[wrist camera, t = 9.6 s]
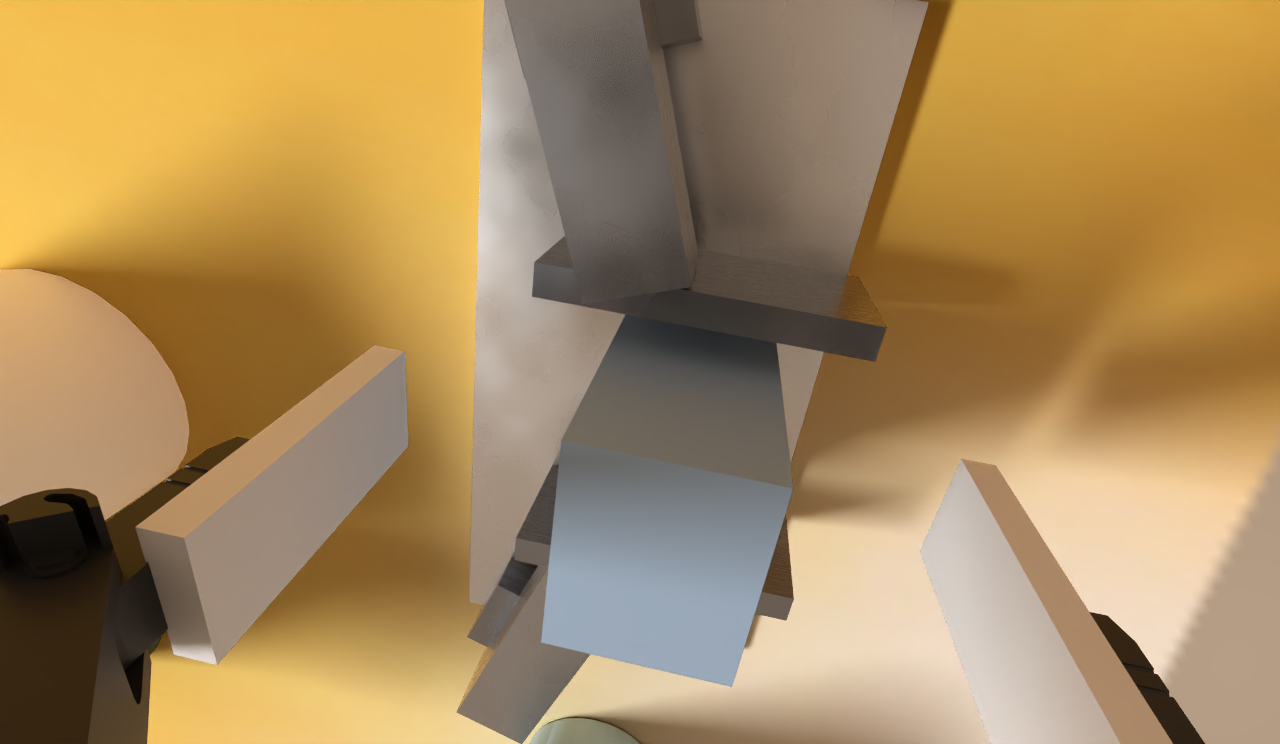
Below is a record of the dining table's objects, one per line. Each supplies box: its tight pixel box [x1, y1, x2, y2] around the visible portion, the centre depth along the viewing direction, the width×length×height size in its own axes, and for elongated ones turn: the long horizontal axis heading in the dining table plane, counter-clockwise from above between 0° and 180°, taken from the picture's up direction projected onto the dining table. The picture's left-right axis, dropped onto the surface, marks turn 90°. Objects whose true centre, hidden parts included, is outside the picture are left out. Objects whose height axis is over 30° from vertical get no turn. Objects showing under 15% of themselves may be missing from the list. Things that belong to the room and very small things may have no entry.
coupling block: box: [541, 315, 793, 687], centre depth 15 cm, size 5×4×8 cm
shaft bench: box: [457, 0, 929, 744], centre depth 17 cm, size 24×10×4 cm, turn 172°
